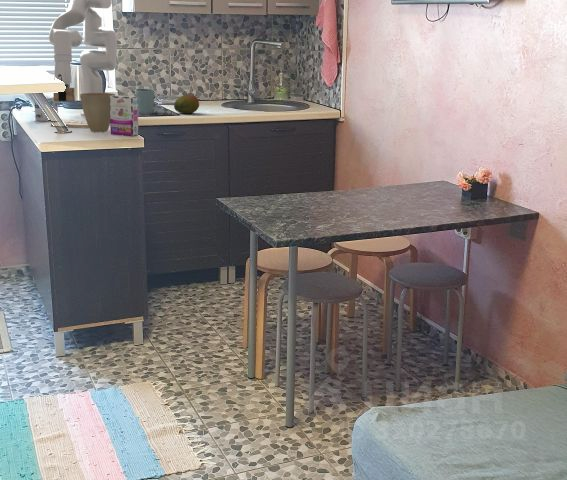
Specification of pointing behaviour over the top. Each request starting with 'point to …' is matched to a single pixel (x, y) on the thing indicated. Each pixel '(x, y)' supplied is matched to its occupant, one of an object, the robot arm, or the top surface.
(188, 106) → the fruit
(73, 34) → the robot arm
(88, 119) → the plant pot
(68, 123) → the board
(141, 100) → the blue-green cup
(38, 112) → the light bulb box
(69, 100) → the sanding block
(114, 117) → the candy bar box
